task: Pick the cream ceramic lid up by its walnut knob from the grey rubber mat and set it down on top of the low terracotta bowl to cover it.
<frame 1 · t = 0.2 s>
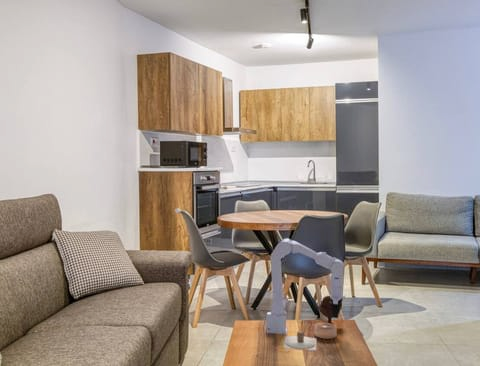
hand: (336, 315, 229), 10 cm above the table, fingers open, 7 cm apart
bowl: (325, 336, 228), on the table
lid: (300, 343, 219), resting on mat
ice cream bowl: (329, 325, 244), on the table
mat: (300, 344, 219), on the table
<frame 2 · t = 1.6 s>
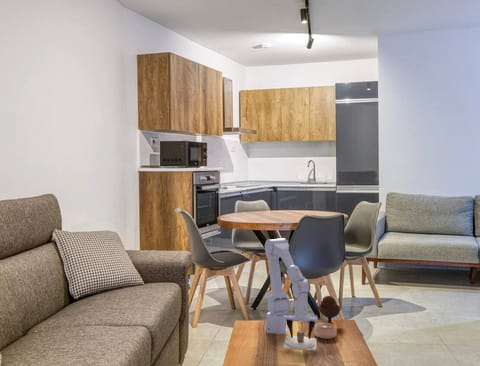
hand: (300, 337, 219), 3 cm above the table, fingers open, 7 cm apart
nothing on the table moved.
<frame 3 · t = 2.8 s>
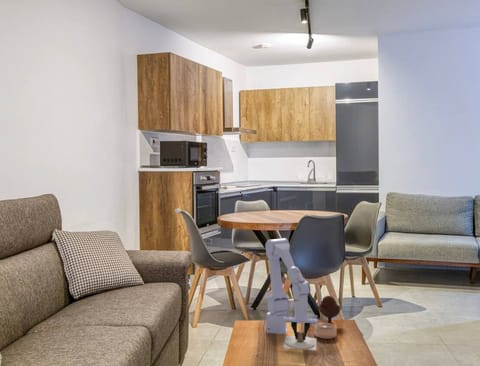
hand: (300, 339, 219), 2 cm above the table, fingers closed on lid, 3 cm apart
lid: (300, 343, 219), resting on mat, touching gripper
everything else where it was.
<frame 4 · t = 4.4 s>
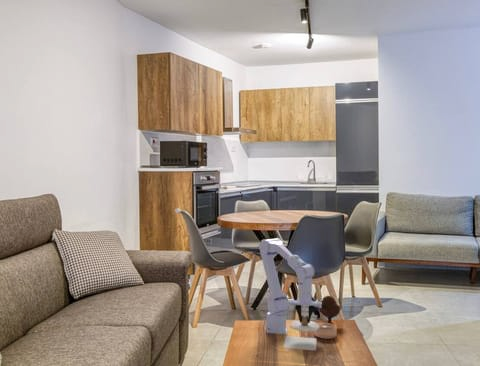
hand: (304, 322, 220), 9 cm above the table, fingers closed on lid, 3 cm apart
lid: (304, 326, 220), point 7 cm above the table, touching gripper
everything else where it was.
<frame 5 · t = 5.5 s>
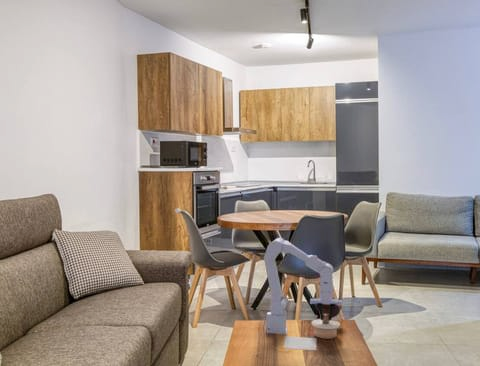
hand: (325, 319, 228), 8 cm above the table, fingers closed on lid, 3 cm apart
lid: (325, 324, 227), point 6 cm above the table, touching gripper
everything else where it was.
when the fingers open (8 cm above the table, at t = 6.2 s): lid stays where it is, resting on bowl.
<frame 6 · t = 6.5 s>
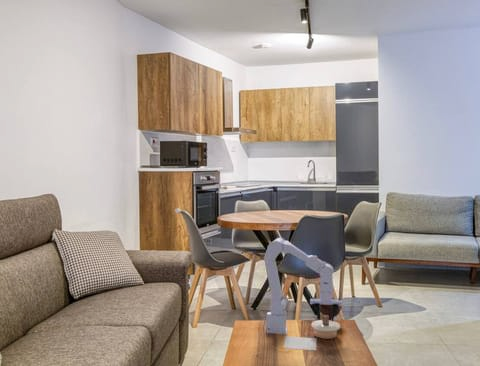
hand: (325, 320, 228), 8 cm above the table, fingers open, 5 cm apart
lid: (325, 326, 227), point 5 cm above the table, touching bowl
everything else where it was.
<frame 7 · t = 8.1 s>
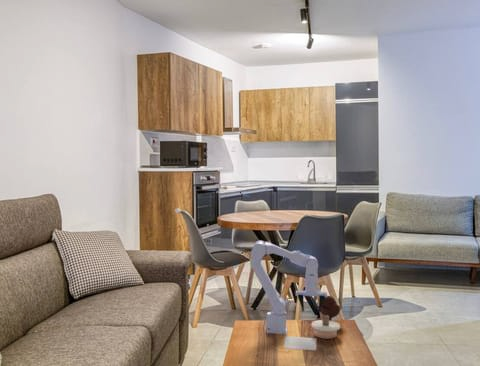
hand: (311, 311, 233), 10 cm above the table, fingers open, 7 cm apart
nothing on the table moved.
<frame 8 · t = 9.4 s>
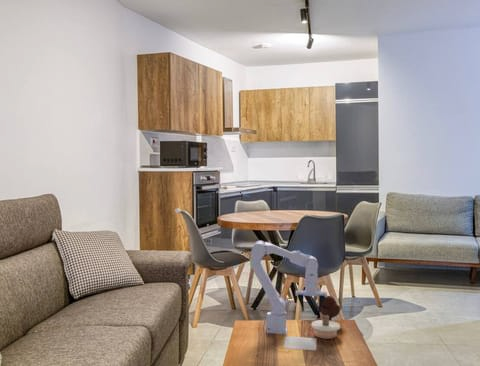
hand: (311, 311, 233), 10 cm above the table, fingers open, 7 cm apart
nothing on the table moved.
at the end: lid 0.4 cm off-centre on the bowl, point 5.0 cm above the bowl's base; lid tilted 0°; the gripper is holding nothing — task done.
